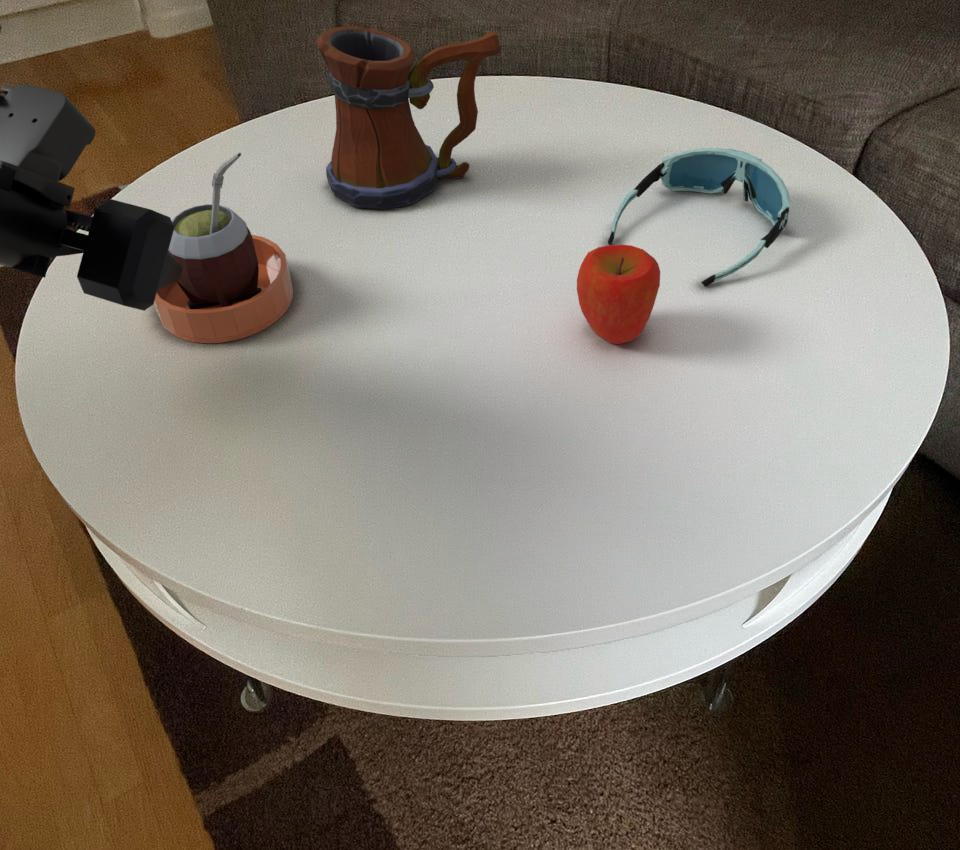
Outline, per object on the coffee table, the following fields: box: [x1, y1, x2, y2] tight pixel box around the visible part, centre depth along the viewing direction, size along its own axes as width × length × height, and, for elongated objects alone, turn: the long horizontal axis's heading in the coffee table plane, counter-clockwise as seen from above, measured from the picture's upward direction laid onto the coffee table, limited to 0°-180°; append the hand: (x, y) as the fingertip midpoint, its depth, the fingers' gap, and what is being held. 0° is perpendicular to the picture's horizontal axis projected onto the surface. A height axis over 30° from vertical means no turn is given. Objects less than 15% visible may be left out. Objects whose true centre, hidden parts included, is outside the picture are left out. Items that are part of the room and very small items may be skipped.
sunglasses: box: [607, 147, 792, 287], centre depth 83 cm, size 14×15×5 cm
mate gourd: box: [168, 152, 262, 309], centre depth 73 cm, size 8×8×15 cm
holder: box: [153, 234, 294, 344], centre depth 78 cm, size 12×12×3 cm
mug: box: [315, 25, 502, 210], centre depth 88 cm, size 18×12×15 cm, turn 93°
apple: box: [576, 244, 661, 345], centre depth 72 cm, size 6×6×8 cm
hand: (131, 259), depth 68 cm, fingers open, 9 cm apart
